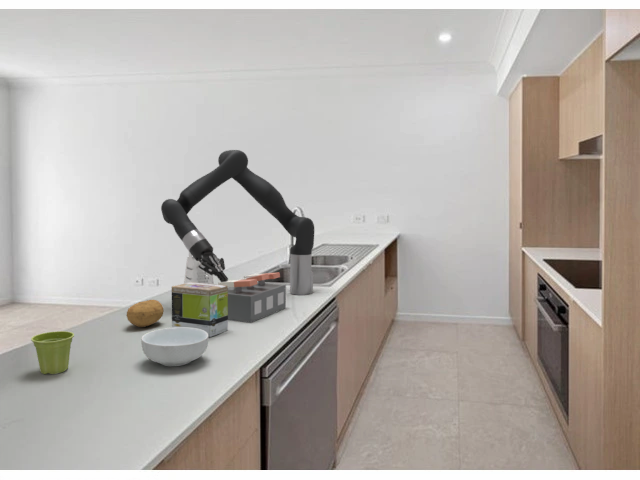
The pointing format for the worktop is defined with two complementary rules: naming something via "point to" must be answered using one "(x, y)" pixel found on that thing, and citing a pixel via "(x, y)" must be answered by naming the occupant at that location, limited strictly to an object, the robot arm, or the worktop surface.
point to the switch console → (255, 301)
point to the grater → (196, 272)
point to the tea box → (200, 307)
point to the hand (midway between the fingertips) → (225, 281)
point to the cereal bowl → (174, 345)
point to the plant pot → (53, 351)
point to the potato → (145, 313)
